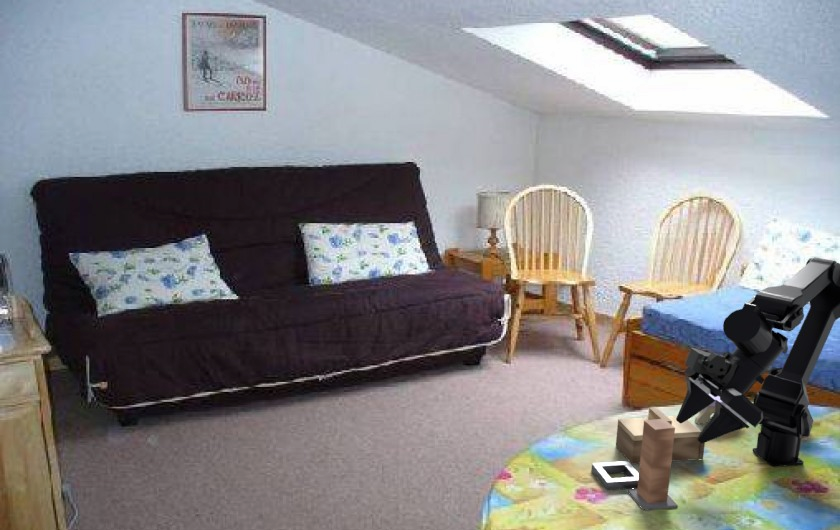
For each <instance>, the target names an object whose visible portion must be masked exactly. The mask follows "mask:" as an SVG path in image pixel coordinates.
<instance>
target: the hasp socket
mask: <svg viewBox="0 0 840 530" xmlns="http://www.w3.org/2000/svg"><path fill="white" fill-rule="evenodd" d="M619 472H623V474H624V473H625V474H626V475H625V474H624V475H625V477H613V478H612V477H611V476H610V475H609V474H620V473H619ZM591 473H592V474H593V475H594V477H596V479H597V480H598V481H599V483H600V484H601V486H602V487H604V489H605V490H606V491H618V490H619V489H621V490H627V489H632V488H638V478H639V471H638V470H636V468H635V467H634V466H633V465H632V463H631V462H630V461H629V460H625V461H623V460H622V461H621V460H620V461H608V462H593V463H591Z"/></svg>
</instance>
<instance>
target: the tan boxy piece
mask: <svg viewBox="0 0 840 530" xmlns="http://www.w3.org/2000/svg"><path fill="white" fill-rule="evenodd" d="M697 438H698V437H688V438H674V442H673V451H672V461H671V462H674V461H673V460H681V461H689V460H688V459H696V460H698V459H703V460H704V454H705V453H704V452H705V446H706V445H705V444H706V442H705V443H703V444H702V443H700V442H699V441H698V440H697ZM615 440H616V441H615V447H616V448H617V449H618V451H620V452H621V454H622V453H623V454H622V455H623V456H624V455H625V456H624V457H625V458H626V459H627V461H628V462H629V463H630V464H632V463H633V465H634V463H636V464H640V457H641V447H642V440H639V441H634V440H633V439H632V438H631V437H630V436H629V435H628V434H627V433H626V432H625V431H624V430H623V429H622V428H621V427H620V426H619V425H618V424H617V429H616V439H615Z"/></svg>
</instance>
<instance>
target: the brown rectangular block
mask: <svg viewBox="0 0 840 530" xmlns="http://www.w3.org/2000/svg"><path fill="white" fill-rule="evenodd" d="M674 433H675V427H673V426H672V425H671V424H670V423H668V422H667V421H666V420H664V419H654V420H644V427H643V437H642V447H641V457H640V463H639V466H638V467H639V469H638V470H639V471H638V473H639V478H638V488H637V493H638V494H639V495H640V496H641V497H642V498H643V499H644V500H645V501H646V502H647V503H657V502H665V501H667V498H668V495H669V489H670V488H669V487H670V480H671V479H670V477H671V470H672V469H671V468H672V462H673V461H672V451H673V442H674Z"/></svg>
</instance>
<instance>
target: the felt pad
mask: <svg viewBox="0 0 840 530" xmlns="http://www.w3.org/2000/svg"><path fill="white" fill-rule="evenodd" d="M627 491H628V492H627ZM626 492H627V493H628V494H629V493H630V494H629V495H630V497H631V498H632V497H633V498H634V499H635V500H634V499H633V498H632V499H633V500H634V502H635V503H636V504H637V503H638V504H639V505H638V504H637V505H638V506H639V507H640V506H641V507H642V508H641V507H640V508H641V510H642V509H643V510H642V511H648V510H647V509H651V510H660V509H659V508H664V509H675V508H678V507H679V506H678V504H677V503H676V502H675V501H674V499H672V497H671V496H670V495H669V494H668V498H667V501H665V502H657V503H647V502H646V501H645V500H644V499H643V498H642V497H641V496H640V495H639V494H638V493H637V488H634V489H626ZM644 509H646V510H644Z"/></svg>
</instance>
